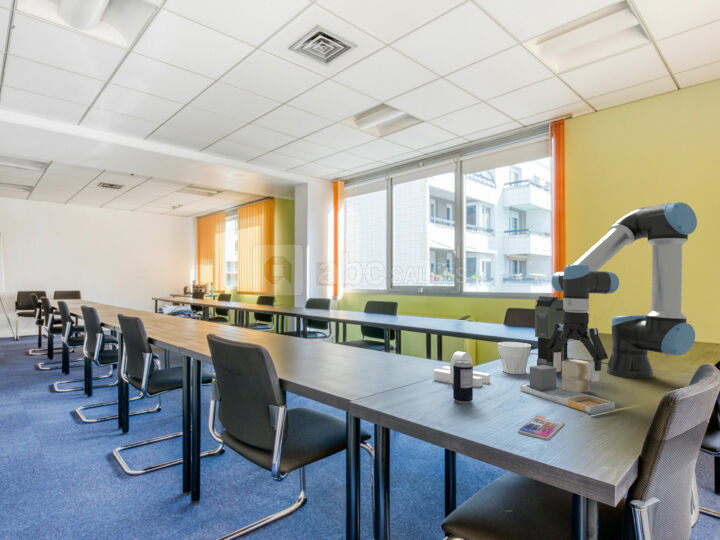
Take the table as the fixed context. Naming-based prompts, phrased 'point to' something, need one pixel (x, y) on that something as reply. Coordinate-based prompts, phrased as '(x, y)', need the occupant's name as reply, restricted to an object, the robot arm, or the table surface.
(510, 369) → the cup
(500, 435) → the table surface
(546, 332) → the device
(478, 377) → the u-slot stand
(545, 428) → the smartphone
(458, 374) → the beverage can
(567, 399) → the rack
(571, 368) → the panel block
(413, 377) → the table surface
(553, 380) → the blank block
